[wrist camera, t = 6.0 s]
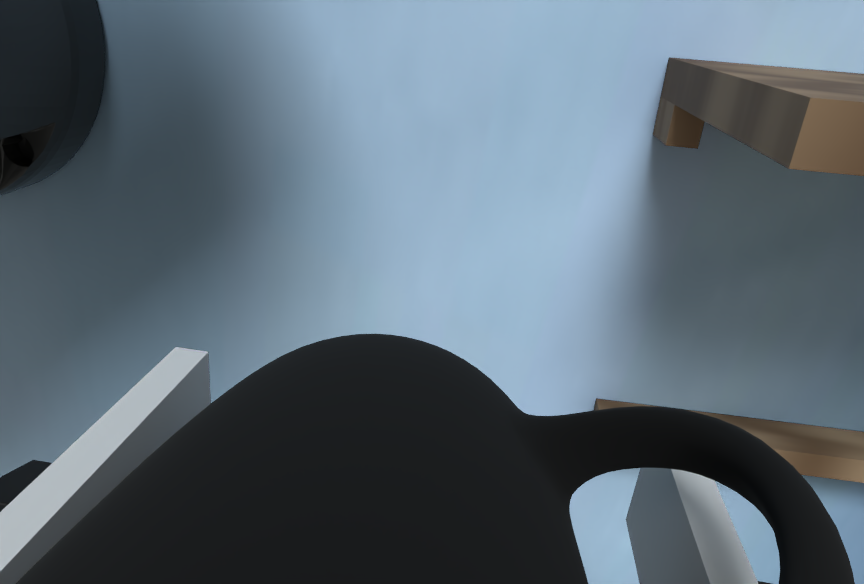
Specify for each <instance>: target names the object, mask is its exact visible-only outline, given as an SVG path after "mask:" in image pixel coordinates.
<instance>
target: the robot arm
mask: <svg viewBox="0 0 864 584" xmlns="http://www.w3.org/2000/svg"><path fill="white" fill-rule="evenodd" d="M104 72H105V50H104V39H103V31H102V25H101V20H100V15H99V11H98V6H97V3H96V0H0V195H3V194H6V193H9V192H11V191H14V190H17V189H20V188H23V187H25V186H28V185H31V184H34V183H36V182H38V181H40V180H43V179H45V178H46V177H48V176H50V175H51V174H53V173H55V172H56V171H57V170H58V169H60V168H61V167H62V166H63V165H65V164H66V163H67V162H68V161H69V160H70V159H71V158H72V157H73V155H74V154H75V153H76V152H77V151H78V149H79V148H80V147H81V145H82V144H83V142H84V141H85V139H86V137H87V136H88V134H89V132H90V130H91V127H92V125H93V123H94V120H95V118H96V115H97V112H98V109H99V105H100V101H101V96H102V91H103V84H104ZM210 404H211V397H210V376H209V355H208V352H206V351H199V350H193V349H186V348H180V347H175V348H174V349H173V350H172V351H171V352H170V353H169V354H168V355H167V356H166V357H165V358H163V359H162V360H161V361H160V362H159V363H158V364H157V365H156V366H155V367H154V368H153V369H152V370H151V371H150V372H149V373H148V374H146V375H145V376H144V377H143V378H142V379H141V380H140V381H139V382H138V383H137V384H136V385H135V386H134V387H133V388H132V389H131V390H129V391H128V392H127V393H126V394H125V395H124V396H123V397H122V398H121V399H120V400H119V401H118V402H117V403H116V404H115V405H114V406H112V407H111V408H110V409H109V410H108V411H107V412H106V413H105V414H104V415H103V416H102V417H101V418H100V419H99V420H98V421H97V422H95V423H94V424H93V425H92V426H91V427H90V428H89V429H88V430H87V431H86V432H85V433H84V434H83V435H82V436H81V437H80V438H78V439H77V440H76V441H75V442H74V443H73V444H72V445H71V446H70V447H69V448H68V449H67V450H66V451H65V452H64V453H62V454H61V455H60V456H59V457H58V458H57V459H56V460H55V461H54V462H53V463H49V462H43V461H37V460H32V461H30V462H28V463H27V464H25V465H23V466H21V467H19V468H17V469H15V470H13V471H11V472H9V473H7V474H6V475H4V476H2V477H1V478H0V584H16V583H17V582H18V581H19V580H20V579H21V578H22V577H23V576H24V575H25V574H26V573H27V572H28V571H29V570H30V569H31V568H32V567H33V566H34V565H35V564H36V563H37V562H38V561H39V560H40V559H41V558H42V557H43V556H44V555H45V554H46V553H47V552H48V551H49V550H50V549H51V548H52V547H53V546H54V545H55V544H56V543H57V542H58V541H59V540H60V539H61V538H63V537H64V536H65V535H66V534H67V533H68V532H69V531H70V530H71V529H72V528H73V527H74V526H75V525H76V524H77V523H78V522H79V521H80V520H81V519H82V518H83V517H85V516H86V515H87V514H88V513H89V512H90V511H91V510H92V509H93V508H94V507H95V506H96V505H97V504H98V503H99V502H100V501H101V500H102V499H103V498H105V497H106V496H107V495H108V494H109V493H110V492H111V491H112V490H113V489H114V488H115V487H116V486H117V485H118V484H119V483H121V482H122V481H123V480H124V479H125V478H126V477H127V476H128V475H129V474H130V473H131V472H132V471H133V470H134V469H136V468H137V467H138V466H139V465H140V464H141V463H142V462H143V461H144V460H145V459H146V458H148V457H149V456H150V455H151V454H152V453H153V452H154V451H155V450H156V449H158V448H159V447H160V446H161V445H162V444H163V443H164V442H166V441H167V440H168V439H169V438H170V437H171V436H172V435H174V434H175V433H176V432H177V431H178V430H179V429H181V428H182V427H183V426H184V425H185V424H187V423H188V422H189V421H190V420H191V419H193V418H194V417H195V416H196V415H197V414H199V413H200V412H201V411H202V410H204V409H205V408H206V407H207V406H209V405H210ZM626 522H627V527H628V532H629V536H630V541H631V546H632V550H633V555H634V559H635V564H636V569H637V573H638V578H639V583H640V584H771V583H765V582H759V581H757V579H756V577H755V574H754V572H753V570H752V567H751V565H750V563H749V560H748V558H747V556H746V553H745V551H744V549H743V546H742V544H741V542H740V539H739V537H738V535H737V532H736V530H735V528H734V525H733V523H732V521H731V518H730V516H729V514H728V511H727V509H726V507H725V504H724V502H723V500H722V497H721V495H720V493H719V490H718V488H717V486H716V483H715V481H714V480H712V479H709V478H707V477H704V476H702V475H699V474H695V473H691V472H687V471H683V470H675V469H667V468H640V472H639V475H638V479H637V482H636V486H635V489H634V493H633V496H632V500H631V503H630V507H629V510H628V514H627V517H626Z"/></svg>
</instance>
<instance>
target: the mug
mask: <svg viewBox="0 0 864 584" xmlns="http://www.w3.org/2000/svg"><path fill="white" fill-rule="evenodd" d="M631 468H667V469H675V470H683V471H687V472H691V473H695V474H699V475H702V476H704V477H707V478H709V479H712V480H715V481H717V482H719V483H721V484H723V485H725V486H727V487H728V488H730V489H732V490H734V491H736V492H737V493H739V494H740V495H741V496H743V497H744V498H745V499H747V500H748V501H749V502H751V503H752V504H753V505H755V507H756V508H757V509H758V510H759V511H760V512H761V513H762V514H763V515H764V517H765V518H766V520H767V521H768V523H769V524H770V525H771V527H772V528H773V530H774V533H775V537H776V541H777V546H778V550H779V557H780V578H779V584H855V583H854V577H853V572H852V569H851V565H850V561H849V558H848V555H847V553H846V550H845V548H844V545H843V542H842V540H841V537H840V535H839V532H838V530H837V527H836V525H835V524H834V522H833V520H832V519H831V517H830V515H829V514H828V512H827V510H826V509H825V507H824V506H823V504H822V502H821V501H820V499H819V498H818V496H817V495H816V493H815V491H814V490H813V488H812V487H811V486H810V485H809V484H808V482H807V481H806V480H805V479H804V478H803V477H802V476H801V474H800V473H799V472H798V471H797V470H796V469H795V468H794V466H793V465H791V464H790V463H789V462H788V461H787V460H785V459H784V458H783V457H782V456H781V455H779V454H778V453H777V452H776V451H775V450H773V449H772V448H771V447H770V446H768V445H767V444H766V443H765V442H763V441H762V440H761V439H759V438H757V437H756V436H754V435H752V434H751V433H749V432H747V431H745V430H744V429H742V428H740V427H738V426H736V425H733V424H731V423H728V422H726V421H723V420H721V419H718V418H715V417H711V416H708V415H704V414H700V413H696V412H692V411H688V410H683V409H675V408H668V407H652V406H634V407H617V408H609V409H602V410H595V411H588V412H582V413H575V414H568V415H559V416H534V415H528V414H526V413H524V412H522V411H521V410H520V409H518V408H517V407H516V405H515V404H514V403H513V402H512V401H511V400H510V399H509V397H508V396H507V395H506V394H505V393H504V392H503V391H502V390H501V389H500V388H499V387H498V386H497V385H496V384H495V383H494V382H493V381H492V380H491V379H490V378H488V377H487V376H486V375H485V374H483V373H482V372H481V371H480V370H478V369H477V368H476V367H474V366H473V365H471V364H470V363H468V362H467V361H465V360H464V359H462V358H460V357H458V356H456V355H455V354H453V353H451V352H449V351H447V350H444V349H442V348H440V347H437V346H435V345H432V344H429V343H426V342H423V341H420V340H416V339H412V338H407V337H402V336H395V335H386V334H356V335H348V336H341V337H336V338H331V339H327V340H322V341H319V342H316V343H313V344H309V345H306V346H303V347H301V348H298V349H296V350H294V351H292V352H289V353H287V354H285V355H283V356H281V357H279V358H277V359H275V360H274V361H272V362H270V363H268V364H267V365H265V366H263V367H262V368H260V369H259V370H257V371H255V372H254V373H252V374H251V375H249V376H248V377H246V378H245V379H244V380H242V381H241V382H239V383H238V384H236V385H235V386H234V387H232V388H231V389H230V390H228V391H227V392H226V393H224V394H223V395H222V396H220V397H219V398H218V399H216V400H215V401H214V402H212V403H211V404H210V405H209V406H207V407H206V408H205V409H204V410H202V411H201V412H200V413H199V414H197V415H196V416H195V417H194V418H193V419H191V420H190V421H189V422H188V423H187V424H185V425H184V426H183V427H182V428H181V429H179V430H178V431H177V432H176V433H175V434H174V435H172V436H171V437H170V438H169V439H168V440H167V441H166V442H164V443H163V444H162V445H161V446H160V447H159V448H158V449H156V450H155V451H154V452H153V453H152V454H151V455H150V456H149V457H148V458H146V459H145V460H144V461H143V462H142V463H141V464H140V465H139V466H138V467H137V468H136V469H134V470H133V471H132V472H131V473H130V474H129V475H128V476H127V477H126V478H125V479H124V480H123V481H122V482H121V483H119V484H118V485H117V486H116V487H115V488H114V489H113V490H112V491H111V492H110V493H109V494H108V495H107V496H106V497H105V498H103V499H102V500H101V501H100V502H99V503H98V504H97V505H96V506H95V507H94V508H93V509H92V510H91V511H90V512H89V513H88V514H87V515H86V516H85V517H83V518H82V519H81V520H80V521H79V522H78V523H77V524H76V525H75V526H74V527H73V528H72V529H71V530H70V531H69V532H68V533H67V534H66V535H65V536H64V537H63V538H61V539H60V540H59V541H58V542H57V543H56V544H55V545H54V546H53V547H52V548H51V549H50V550H49V551H48V552H47V553H46V554H45V555H44V556H43V557H42V558H41V559H40V560H39V561H38V562H37V563H36V564H35V565H34V566H33V567H32V568H31V569H30V570H29V571H28V572H27V573H26V574H25V575H24V576H23V577H22V578H21V579H20V580H19V581H18V582H17V583H16V584H588V581H587V578H586V574H585V570H584V567H583V563H582V560H581V556H580V553H579V549H578V546H577V542H576V539H575V535H574V531H573V528H572V523H571V518H570V513H569V505H570V499H571V496H572V494H573V493H574V492H575V491H576V490H577V488H579V487H580V486H581V485H582V484H584V483H585V482H587V481H588V480H590V479H592V478H594V477H596V476H598V475H601V474H604V473H607V472H611V471H616V470H621V469H631Z"/></svg>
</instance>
